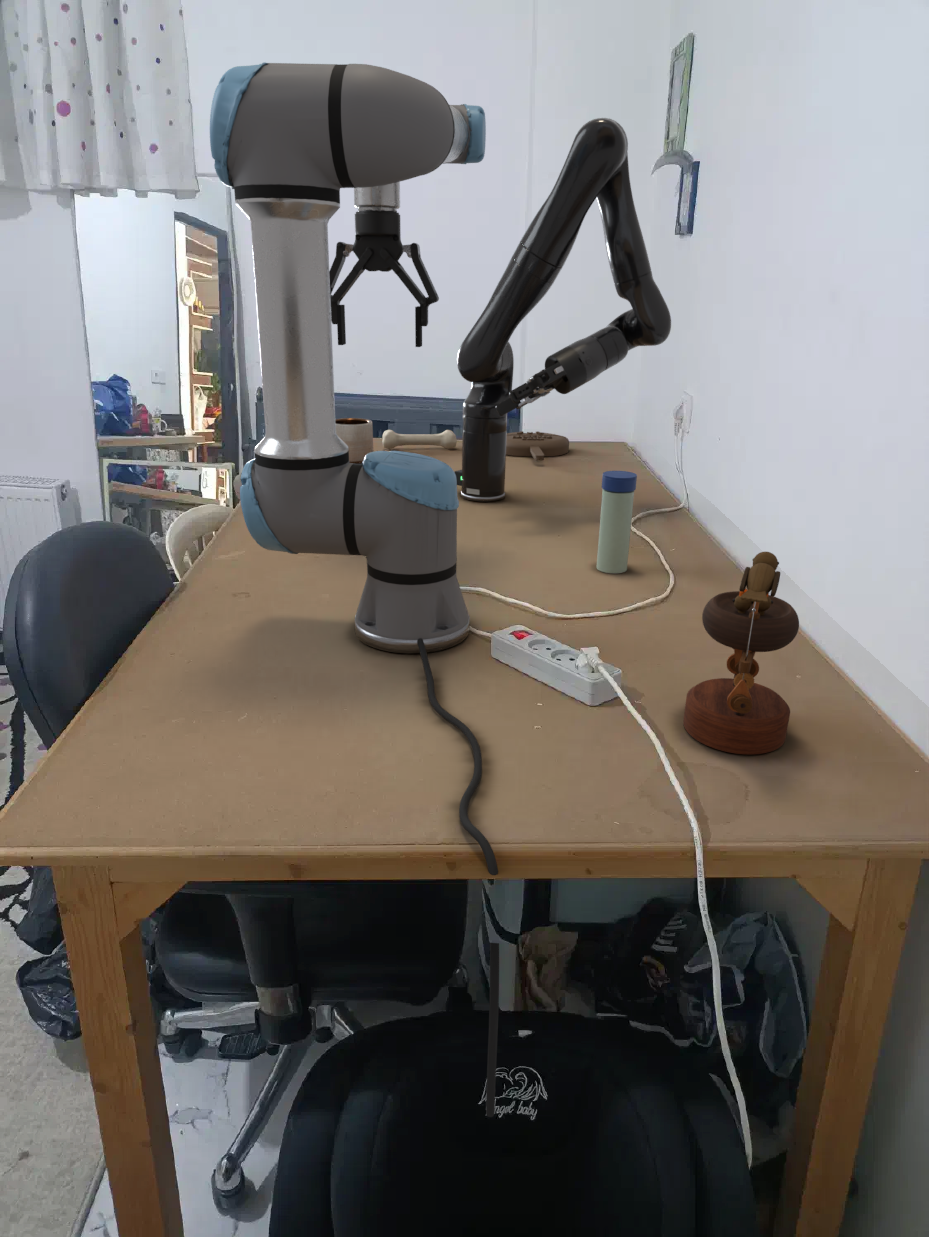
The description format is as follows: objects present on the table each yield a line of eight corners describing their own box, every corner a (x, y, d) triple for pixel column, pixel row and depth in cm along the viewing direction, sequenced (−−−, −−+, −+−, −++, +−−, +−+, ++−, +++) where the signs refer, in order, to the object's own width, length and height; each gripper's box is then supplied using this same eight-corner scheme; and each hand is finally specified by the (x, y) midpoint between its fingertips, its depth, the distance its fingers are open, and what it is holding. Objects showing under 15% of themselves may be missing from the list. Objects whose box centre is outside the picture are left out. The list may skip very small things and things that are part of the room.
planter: (327, 456, 217) (325, 418, 214) (369, 454, 220) (368, 417, 217) (334, 465, 208) (332, 425, 204) (377, 463, 211) (376, 424, 207)
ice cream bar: (498, 465, 210) (498, 448, 208) (489, 444, 236) (490, 429, 234) (582, 466, 211) (583, 449, 209) (564, 445, 237) (565, 429, 235)
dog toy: (454, 445, 233) (454, 427, 231) (457, 450, 228) (457, 431, 226) (381, 446, 230) (380, 428, 228) (382, 451, 225) (382, 432, 223)
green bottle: (593, 571, 137) (601, 479, 131) (599, 562, 141) (606, 472, 136) (624, 575, 136) (633, 481, 130) (629, 565, 140) (637, 475, 134)
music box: (807, 766, 83) (825, 574, 75) (692, 766, 84) (698, 577, 77) (772, 695, 97) (784, 526, 89) (674, 696, 98) (678, 530, 91)
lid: (598, 490, 132) (599, 476, 131) (604, 483, 137) (605, 469, 136) (632, 493, 130) (634, 479, 129) (637, 486, 135) (639, 472, 134)
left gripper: (455, 213, 142) (453, 345, 150) (309, 211, 144) (315, 342, 152) (449, 210, 135) (448, 349, 143) (297, 208, 137) (304, 345, 145)
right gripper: (552, 360, 163) (483, 398, 160) (580, 333, 150) (505, 374, 146) (571, 394, 164) (503, 432, 160) (601, 370, 150) (527, 412, 147)
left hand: (380, 345), depth 147 cm, fingers open, 13 cm apart
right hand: (504, 404), depth 153 cm, fingers open, 8 cm apart
